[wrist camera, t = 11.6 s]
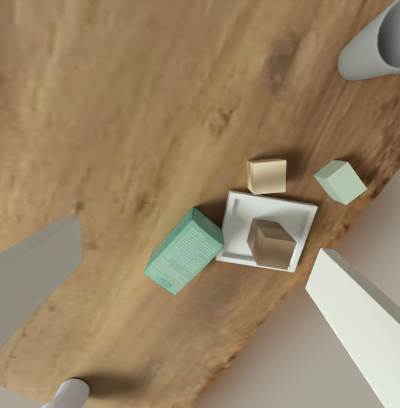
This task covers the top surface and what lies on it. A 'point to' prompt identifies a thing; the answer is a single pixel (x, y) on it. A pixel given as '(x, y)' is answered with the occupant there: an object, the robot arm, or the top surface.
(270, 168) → the oak block
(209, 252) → the box
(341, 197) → the sage block
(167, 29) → the top surface
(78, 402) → the soap bottle
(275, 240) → the walnut block
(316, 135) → the top surface
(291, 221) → the tray
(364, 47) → the cup
